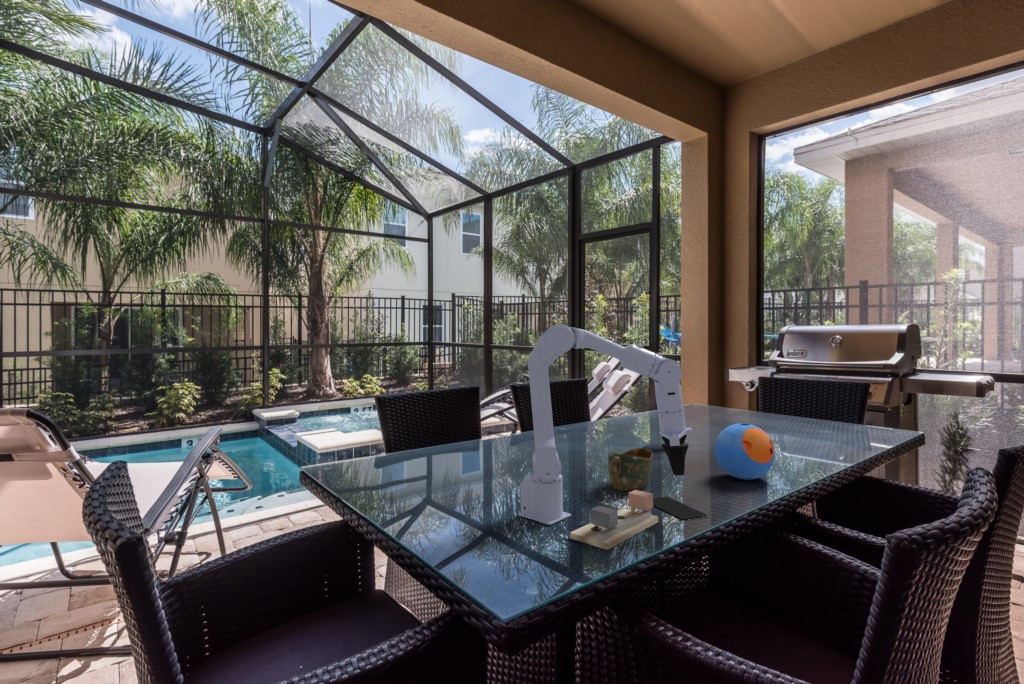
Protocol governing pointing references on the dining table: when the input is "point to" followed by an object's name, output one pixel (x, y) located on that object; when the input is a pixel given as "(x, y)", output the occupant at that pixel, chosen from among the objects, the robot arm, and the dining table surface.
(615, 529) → the divider bar
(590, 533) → the hole plate
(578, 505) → the dining table surface
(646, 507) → the brownish pink rectangular block
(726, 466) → the treat dispenser ball
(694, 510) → the smartphone
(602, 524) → the fixed leg
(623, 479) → the cup
